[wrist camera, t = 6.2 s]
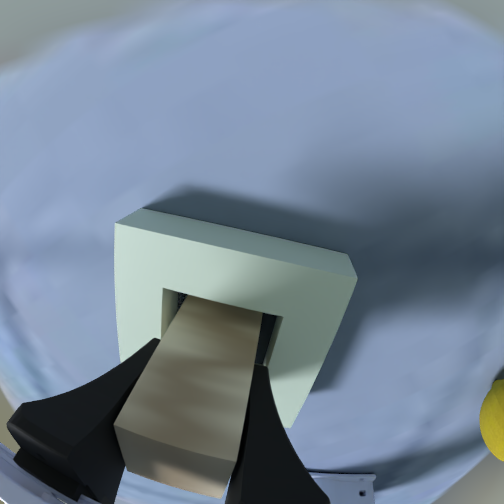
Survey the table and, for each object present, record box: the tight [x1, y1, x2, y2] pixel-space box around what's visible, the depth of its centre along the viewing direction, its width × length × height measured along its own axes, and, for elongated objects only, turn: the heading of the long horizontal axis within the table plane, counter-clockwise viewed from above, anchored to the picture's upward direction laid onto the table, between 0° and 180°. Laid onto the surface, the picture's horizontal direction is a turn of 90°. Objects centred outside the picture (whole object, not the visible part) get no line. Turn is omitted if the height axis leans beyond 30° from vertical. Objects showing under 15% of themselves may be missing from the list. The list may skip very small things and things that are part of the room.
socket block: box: [114, 208, 358, 428], centre depth 15 cm, size 10×10×2 cm
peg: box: [113, 294, 263, 499], centre depth 11 cm, size 4×4×8 cm
